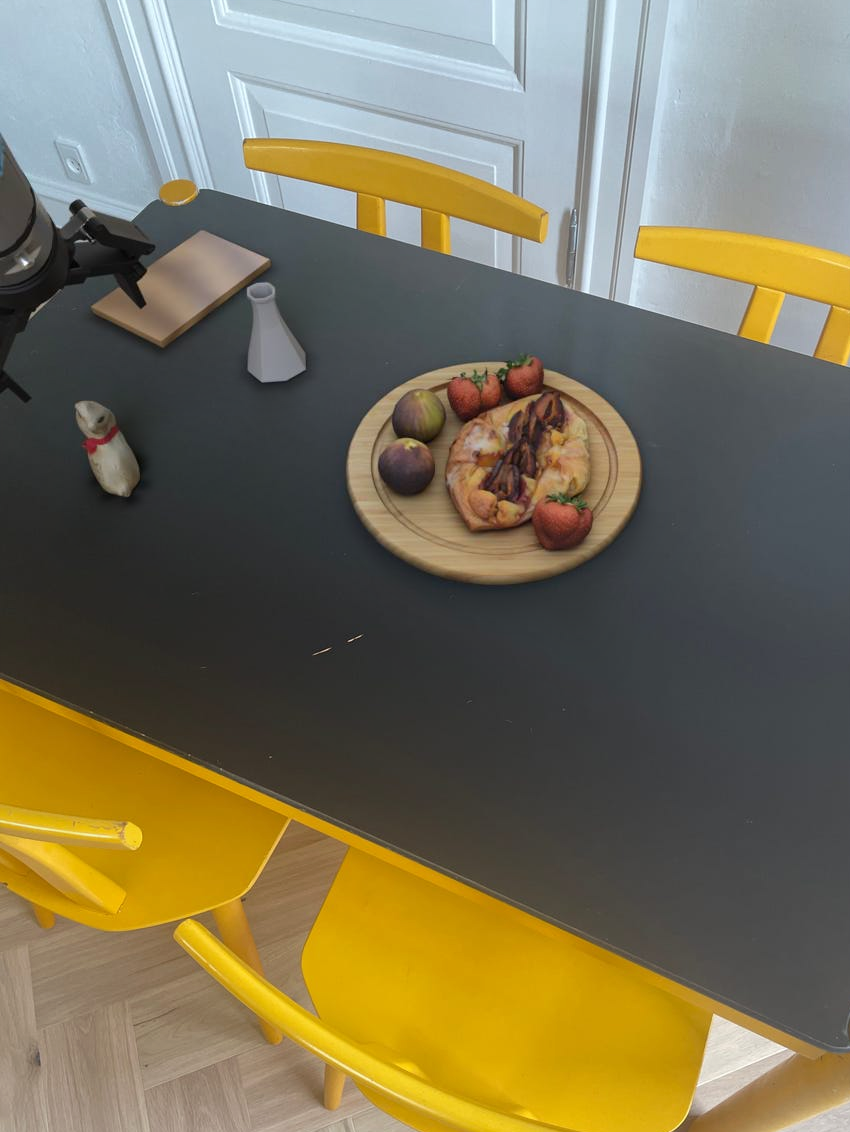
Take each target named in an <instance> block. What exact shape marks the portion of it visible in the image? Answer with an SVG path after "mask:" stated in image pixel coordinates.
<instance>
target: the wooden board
mask: <svg viewBox="0 0 850 1132" xmlns="http://www.w3.org/2000/svg"><path fill="white" fill-rule="evenodd" d="M270 267H272V263H271V259H270V258H267V257H266V256H263V255H260V254H258V253H256V252H254V251H252V250H249V249H247V248H245V247H243V246H241V245H238V244H237V243H233V242H231V241H229V240H227V239H225V238H222V237H220V236H217V235H215V234H214V233H211V232H208V231H207V230H205V229H201V230H199V231H198V232H196V233H195V234H193V235H192V236H191V237H189V238H188V239H186V240H185V241H183V242H181V244H179V245H177V246H176V247H175V248H173V249H172V250H170V251H169V252H168V253H166V254H165V255H163V256H162V257H161V258H159V259H157V260H156V261H154V262H153V263H152V264H150V265H149V266H148V267H146V268H147V273H146V274H145V275H144V276H143V278H142V279H140V280H139V281H138V282H137V284H138V286H139V289H140V291H141V293H142V295H143V297H144V299H145V302H146V304H147V305H145V306H144V307H143V308H142V309H140V308H139V307H138V306H137V305H136V304H135V303H134V302H133V301H132V300H131V299H130V297H129V296H128V295H127V294H126V293H125V292H124V291H123V290H122V289H121V288H120V287H117V288H115V289H114V290H113V291H111V292H109V293H108V294H107V295H106V296H104V297H103V298H101V299H99V300H98V301H97V302H96V303H94V304H93V305H91V306H90V308H91V311H92V312H93V314H94V315H97V316H99V317H100V318H102V319H104V320H107V321H108V322H110V323H112V324H114V325H116V326H119V327H120V328H122V329H124V330H126V331H128V332H130V333H132V334H135V335H136V336H139V337H140V338H142V339H144V340H146V341H149V342H150V343H152V344H154V345H156V346H158V347H160V348H165V347H167V346H168V345H170V344H171V343H172V342H173V341H175V340H176V339H177V338H178V337H180V336H181V335H182V334H184V333H185V332H187V331H188V330H189V329H190V328H191V327H193V326H194V325H196V324H197V323H199V321H201V320H202V319H204V318H205V317H206V316H208V315H209V314H210V313H211V312H212V311H214V310H215V309H217V308H218V307H219V306H221V305H222V304H223V303H225V302H226V301H227V300H228V299H230V298H231V297H232V296H234V295H235V294H236V293H238V292H239V291H241V290H242V289H243V288H245V286H247V285H248V284H249V283H251V282H252V281H254V280H255V279H256V278H258V277H259V276H260V275H261V274H263V273H264V272H266V270H268V269H269V268H270Z"/></svg>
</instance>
